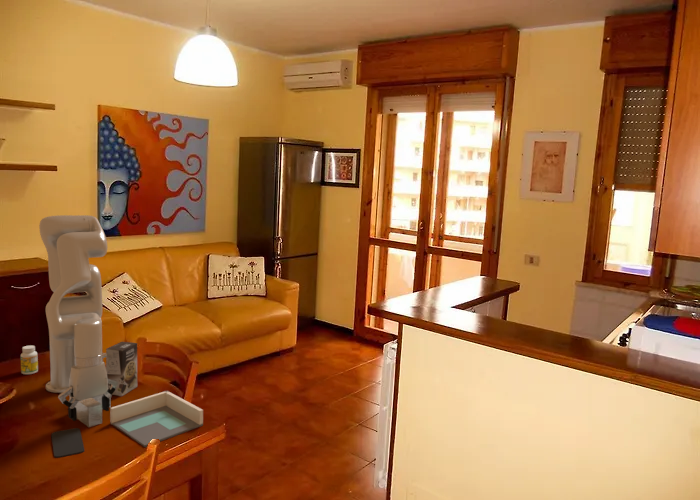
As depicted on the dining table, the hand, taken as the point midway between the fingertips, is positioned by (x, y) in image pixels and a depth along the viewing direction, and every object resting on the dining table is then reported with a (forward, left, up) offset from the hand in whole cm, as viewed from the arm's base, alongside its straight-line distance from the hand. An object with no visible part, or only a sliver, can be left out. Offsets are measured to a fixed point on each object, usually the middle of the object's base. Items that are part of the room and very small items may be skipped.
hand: (89, 414), depth 164 cm
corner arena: (+16, +13, -2) cm, 21 cm away
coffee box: (-15, +18, -2) cm, 24 cm away
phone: (+9, -10, -3) cm, 14 cm away
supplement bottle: (-53, +2, -2) cm, 53 cm away
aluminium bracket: (-3, +3, -2) cm, 5 cm away
